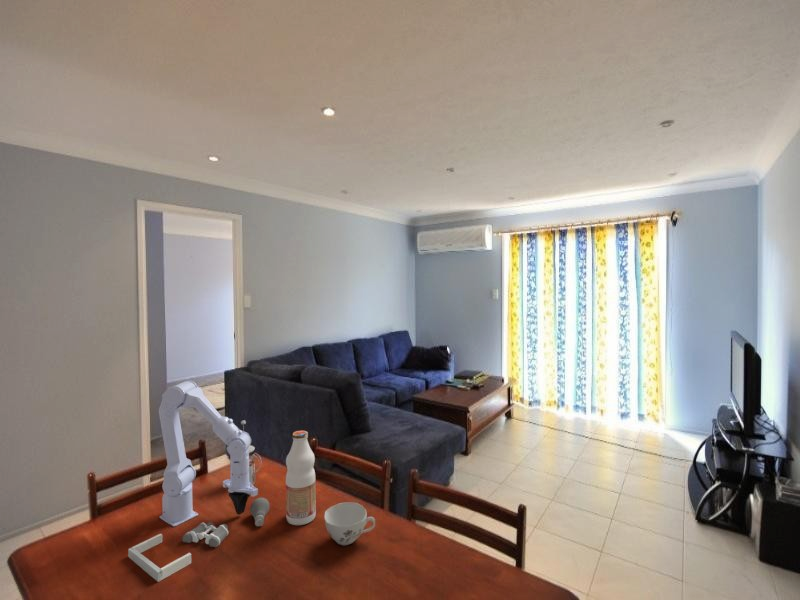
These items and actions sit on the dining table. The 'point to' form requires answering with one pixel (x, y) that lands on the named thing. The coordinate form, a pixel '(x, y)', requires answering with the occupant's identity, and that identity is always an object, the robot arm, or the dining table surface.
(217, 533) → the binoculars
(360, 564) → the dining table surface
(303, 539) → the dining table surface
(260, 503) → the light bulb
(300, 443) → the fruit juice
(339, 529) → the teacup
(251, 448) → the french press
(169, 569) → the u-shaped open frame
